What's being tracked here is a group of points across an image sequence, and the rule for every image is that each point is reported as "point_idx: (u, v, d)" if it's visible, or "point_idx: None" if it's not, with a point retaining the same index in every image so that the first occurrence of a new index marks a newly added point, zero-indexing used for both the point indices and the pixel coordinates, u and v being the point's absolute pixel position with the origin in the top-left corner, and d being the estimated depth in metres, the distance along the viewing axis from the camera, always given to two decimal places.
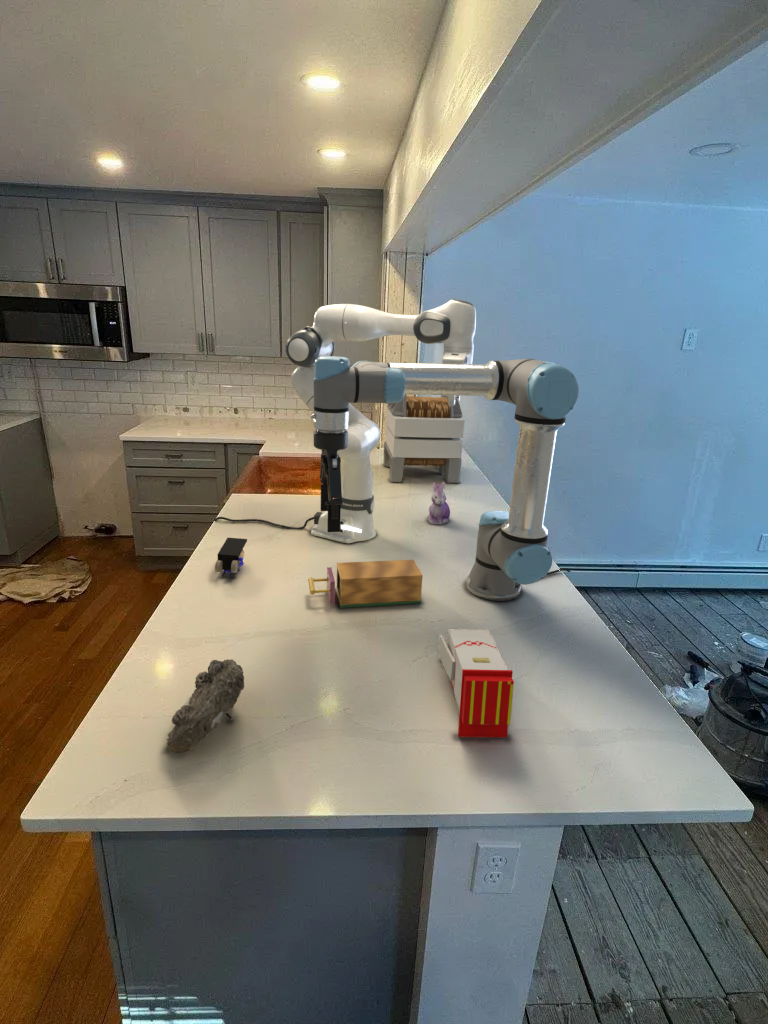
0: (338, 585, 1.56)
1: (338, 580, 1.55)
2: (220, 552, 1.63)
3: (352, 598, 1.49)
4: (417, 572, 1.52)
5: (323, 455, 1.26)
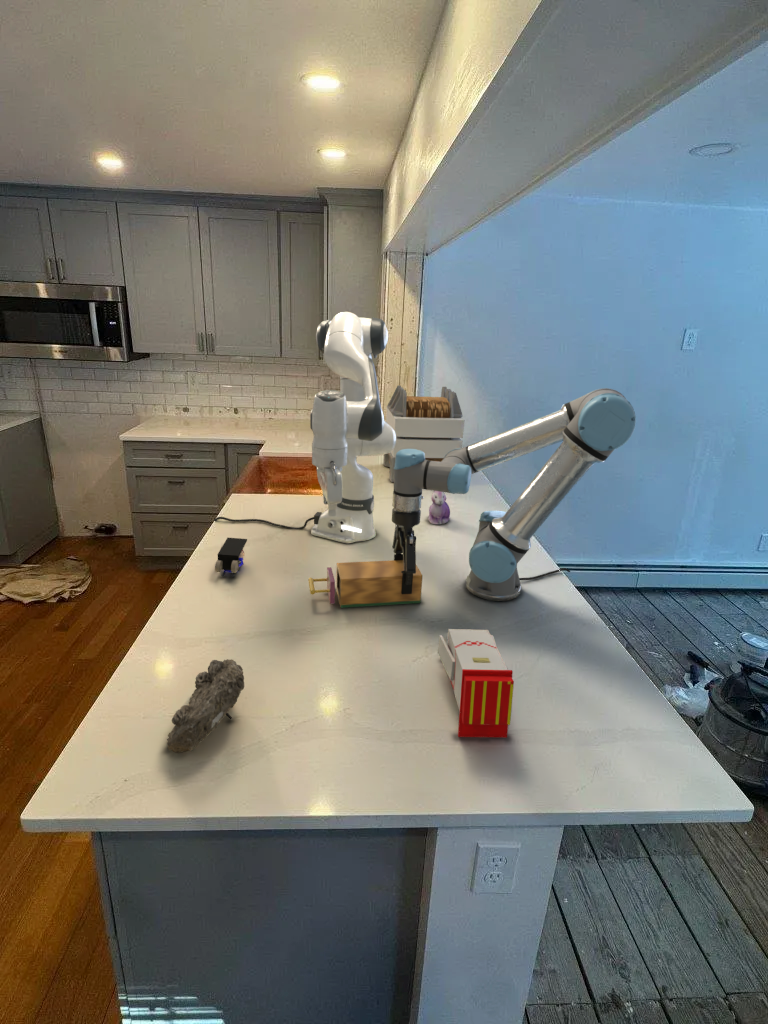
0: (338, 585, 1.56)
1: (338, 580, 1.55)
2: (220, 552, 1.63)
3: (351, 598, 1.49)
4: (417, 572, 1.52)
5: None
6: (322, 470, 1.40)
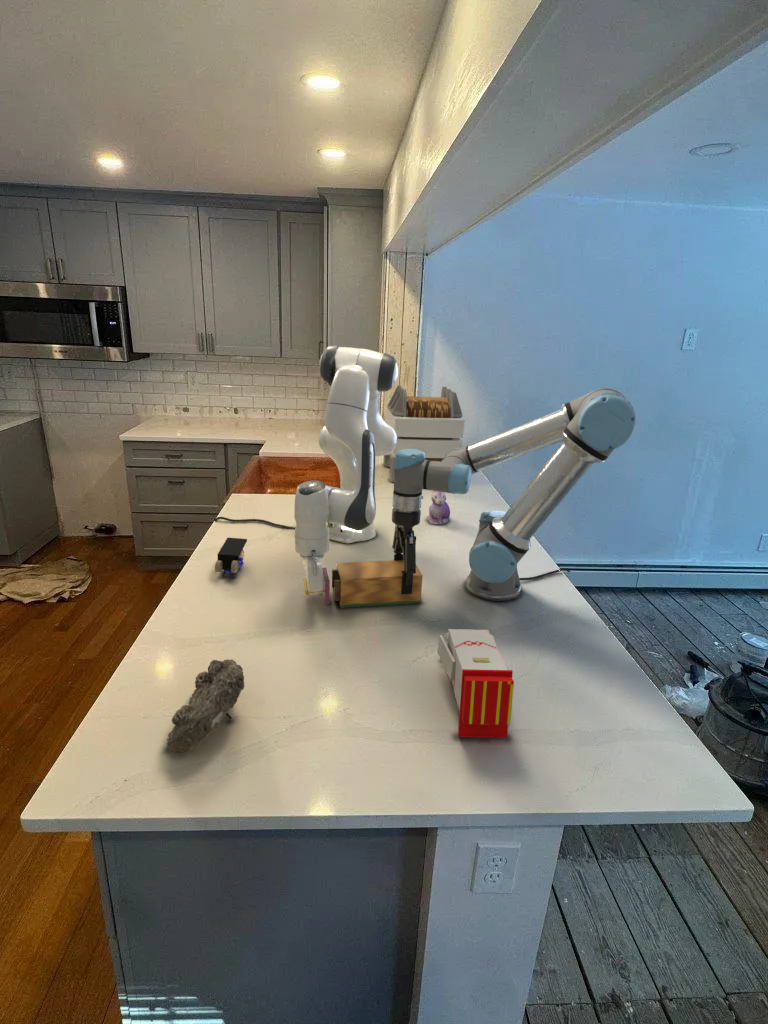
0: (333, 585, 1.55)
1: (333, 580, 1.55)
2: (220, 552, 1.63)
3: (351, 598, 1.49)
4: (417, 572, 1.52)
5: None
6: (304, 557, 1.45)
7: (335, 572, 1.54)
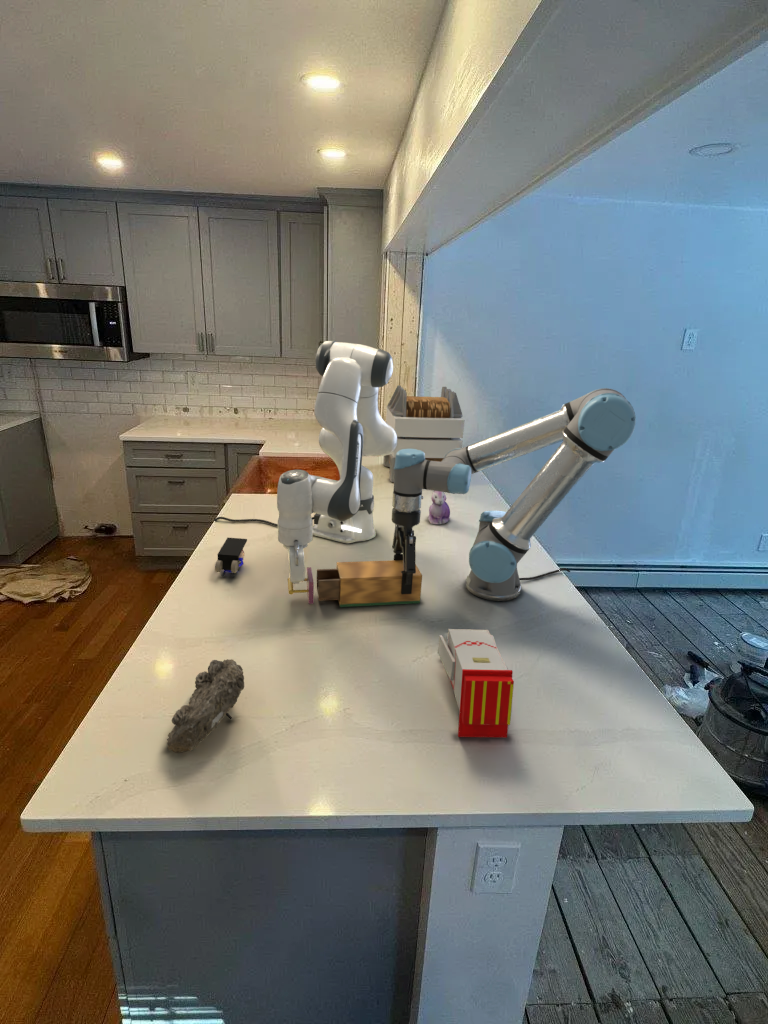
0: (318, 585, 1.54)
1: (318, 580, 1.54)
2: (220, 552, 1.63)
3: (351, 598, 1.49)
4: (417, 572, 1.52)
5: None
6: (287, 547, 1.44)
7: (319, 572, 1.53)
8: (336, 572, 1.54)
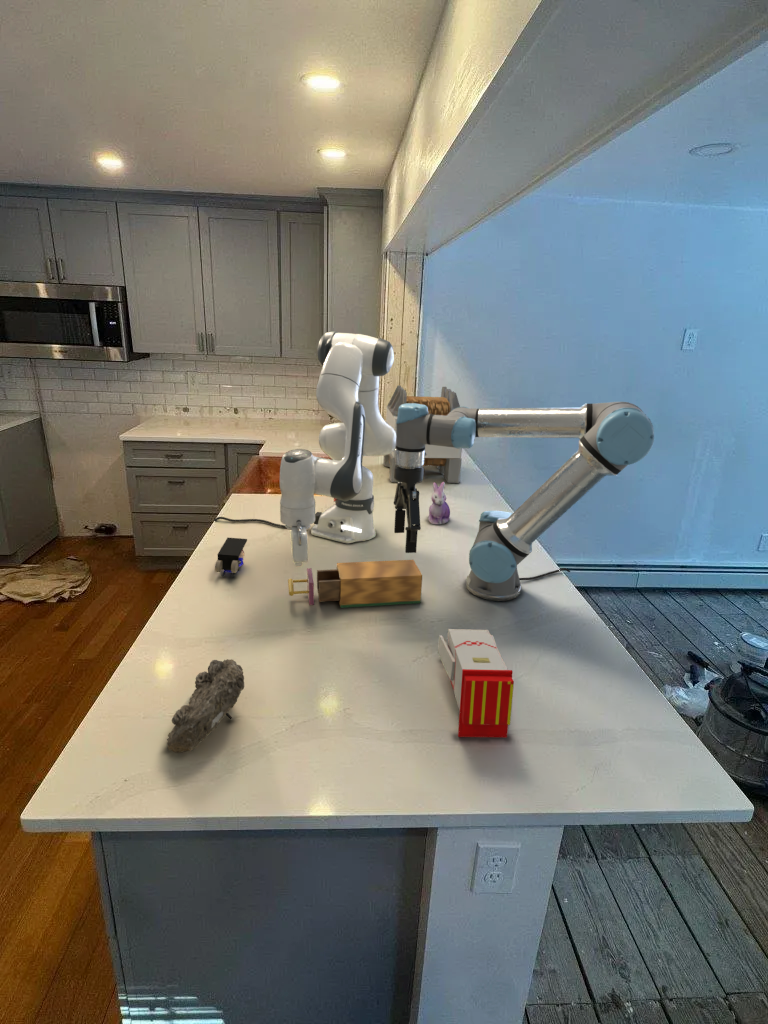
0: (318, 586, 1.55)
1: (318, 581, 1.54)
2: (220, 552, 1.63)
3: (351, 598, 1.49)
4: (417, 572, 1.52)
5: None
6: (290, 528, 1.42)
7: (320, 572, 1.53)
8: (337, 573, 1.54)
